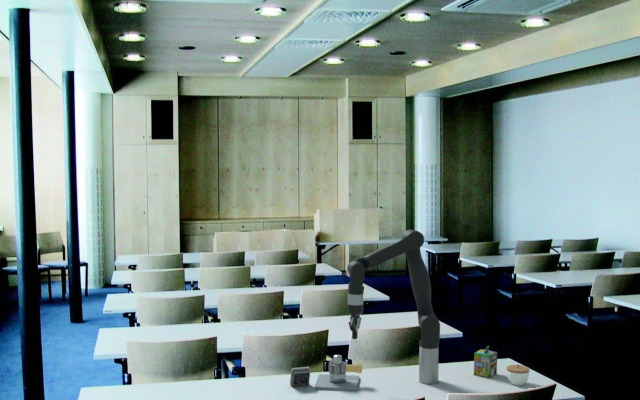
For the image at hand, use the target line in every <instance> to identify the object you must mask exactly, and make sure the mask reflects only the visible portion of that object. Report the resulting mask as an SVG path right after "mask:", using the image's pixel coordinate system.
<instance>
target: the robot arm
mask: <svg viewBox="0 0 640 400" xmlns="http://www.w3.org/2000/svg"><path fill="white" fill-rule="evenodd" d="M424 243H425V236H424V234H423V233H422V232H421V231H419V230H415V229H407V230H405V231H404V232H403V233H402V236H401V240H398V241H397V242H394V243H392V244H389V245H387V246H383V247H381V248H378V249H375V250H374V251H372V252H370V253H368V254H366V255H365V256H361V257H358V258H356V259H353V260H351V261H350V262H349V263H348V264H347V267H346V269H347V272H348V273H349V274H350V281H349V283H348V287H347V288H348V289H347V294H348V295H347V313H348V314H350V317H349V321H348V325H349V329H350V331H351V332H352V335H351V338H352V340H357V339H358V334H359V332H358V331H359V329H360V326H361V321H362V317H361V316H360V315H361V314H363V313H364V280H365V274H366V273H365V272H366V270H369V269H375V268H377V267H378V266H380V265H383V264H384V263H386V262H388V261H390V260H393V259H394V258H396V257H398V256H401V255H403V254H405V257H406V259H407V266H408V273H409V278H410V284H411V289H412V292H413V297H414V300H415V302H416V303H415V304H416V309H417V322H418V323H417V324H418V326H419V328H420V340H419V341H418V342H419V352H418V356H419V358H418V359H419V360H418V361H419V362H418V364H419V365H418V381H419V382H420V383H421V384H426V385H432V384H433V385H434V384H439V366H440V365H439V344H440V339H441V323H440V320H439V319H438V317H437V316H436V315H435V313H434V310H433V309H434V308H433V304H432V283H431V280H430V274H429V271H428V268H427V266H426V264H425V261H424V259H423V257H422V253H421V247H423V245H424Z"/></svg>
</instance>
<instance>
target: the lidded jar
mask: <svg viewBox="0 0 640 400" xmlns="http://www.w3.org/2000/svg"><path fill="white" fill-rule="evenodd" d="M529 376H530V367H528V366H525V365H520V364H511V365H507V366H506V377H507V379H508V381H509V382H510V384H512V385H514V386H517V387H518V386H524V385H525V384H526V383H527V382H528V381H529Z"/></svg>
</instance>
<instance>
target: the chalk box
mask: <svg viewBox="0 0 640 400" xmlns="http://www.w3.org/2000/svg"><path fill="white" fill-rule="evenodd" d="M489 349H490V345H487V346H486V347H485V349H483V348H481V349H479V350H477V351H475V352H474V353H473V354H474V357H473V359H474V360H473V375H474V376H477V377H478V376H479V377H484V378H488V379H491V378H492V377H494V376H495V375H497V374H498V351H494V350H489Z"/></svg>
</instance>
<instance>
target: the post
mask: <svg viewBox="0 0 640 400" xmlns="http://www.w3.org/2000/svg"><path fill="white" fill-rule="evenodd" d="M332 357H333V358H332V359H333V364H334V365H341V364H342V360H343V358H342V357H343V355H341V354H334V355H333V356H332ZM328 373H329V374H328V375H329V382H331V383H335V384H341V383H345V382H346V375H347V372H346V373H343V374H334V373H333V374H332V373H330V372H329V371H328Z"/></svg>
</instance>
